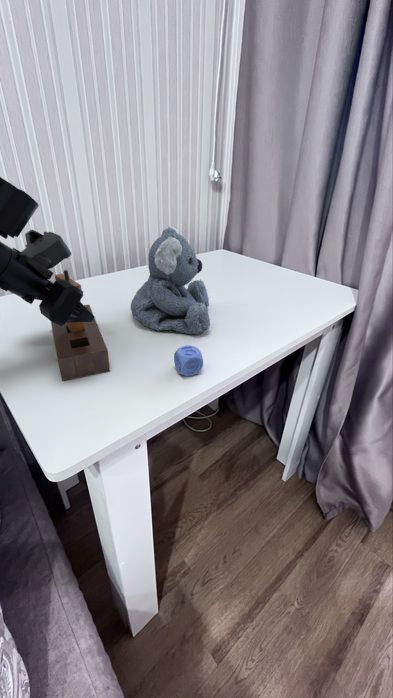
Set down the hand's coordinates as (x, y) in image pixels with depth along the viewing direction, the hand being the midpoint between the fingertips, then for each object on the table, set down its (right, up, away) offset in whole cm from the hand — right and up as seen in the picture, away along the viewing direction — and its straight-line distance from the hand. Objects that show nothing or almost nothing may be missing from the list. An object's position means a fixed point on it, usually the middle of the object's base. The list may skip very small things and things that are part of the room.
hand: (79, 310), depth 61 cm
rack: (-1, -7, +3) cm, 8 cm away
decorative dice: (+20, -11, -1) cm, 23 cm away
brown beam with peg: (-1, -7, +3) cm, 8 cm away
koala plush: (+15, 0, +16) cm, 22 cm away
